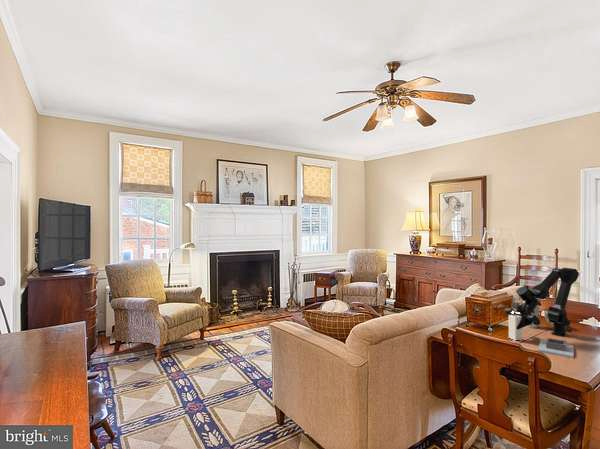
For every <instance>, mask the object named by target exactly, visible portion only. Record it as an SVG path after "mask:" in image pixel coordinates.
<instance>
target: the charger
mask: <svg viewBox="0 0 600 449" xmlns="http://www.w3.org/2000/svg"><path fill="white" fill-rule="evenodd" d="M521 320H522V317H521V316H518V315H508V339H509V338H511V339H513V340H512V341H514V340H520V341H523V328H520V329H516V328H517V326H518V324H519V323H520V321H521ZM511 339H510V340H511Z"/></svg>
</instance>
